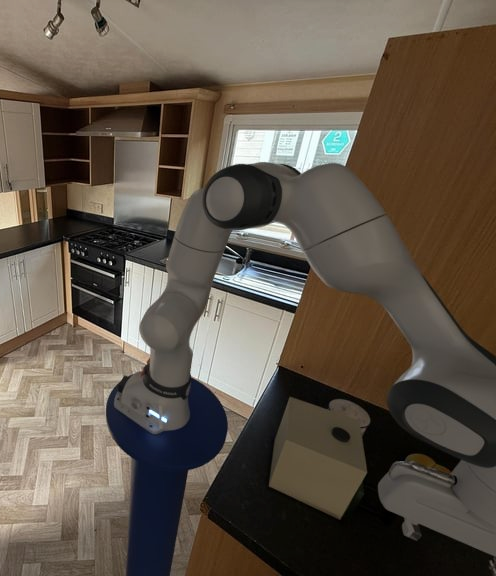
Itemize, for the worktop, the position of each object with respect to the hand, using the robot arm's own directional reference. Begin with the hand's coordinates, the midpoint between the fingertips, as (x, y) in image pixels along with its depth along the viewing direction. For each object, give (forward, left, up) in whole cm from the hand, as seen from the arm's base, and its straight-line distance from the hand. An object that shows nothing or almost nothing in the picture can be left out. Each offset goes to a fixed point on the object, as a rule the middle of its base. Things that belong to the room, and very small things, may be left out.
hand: (450, 552), depth 45 cm
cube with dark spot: (-15, +19, -19) cm, 31 cm away
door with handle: (-10, +19, -18) cm, 28 cm away
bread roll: (+11, +34, -20) cm, 41 cm away
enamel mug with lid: (-7, +38, -20) cm, 43 cm away
